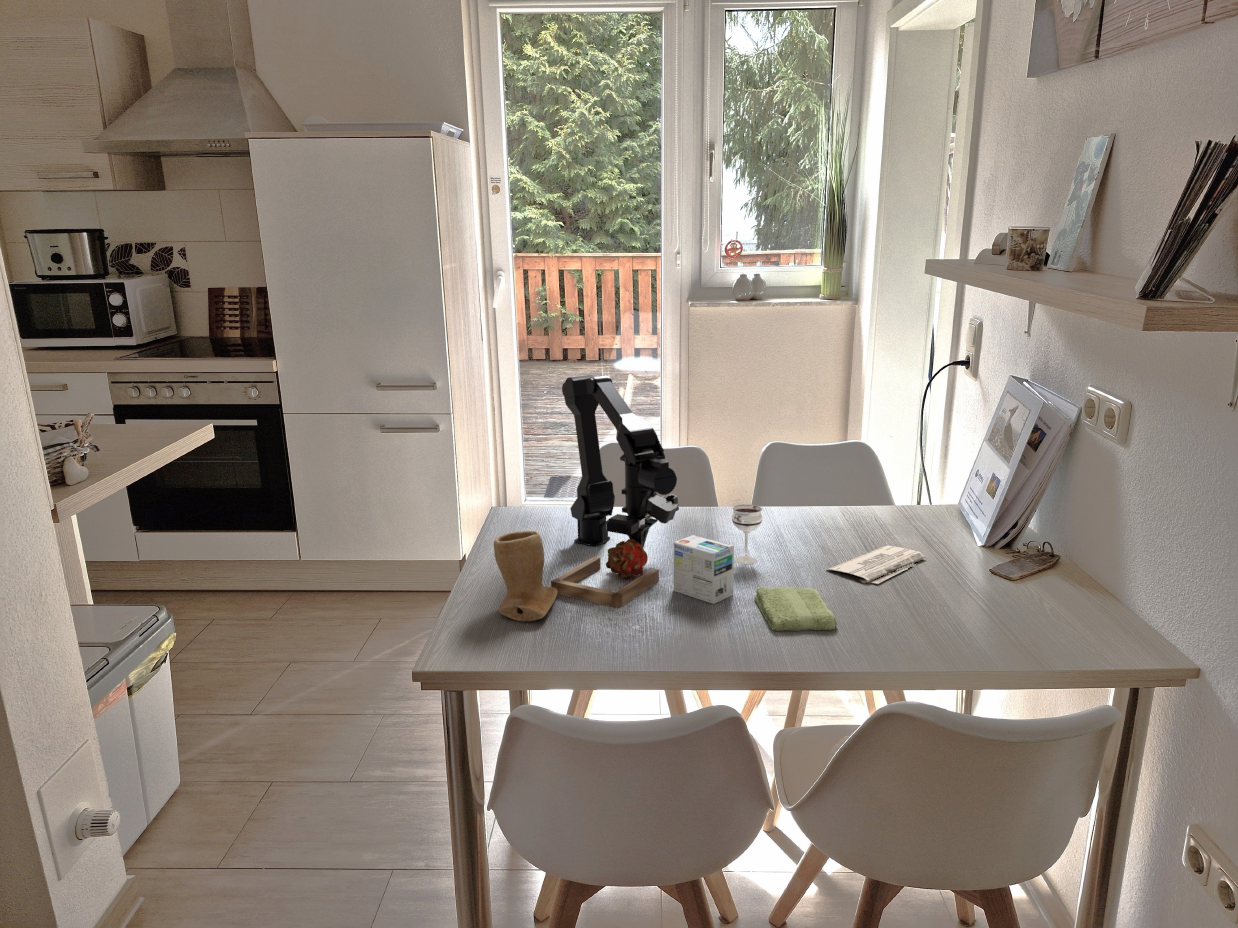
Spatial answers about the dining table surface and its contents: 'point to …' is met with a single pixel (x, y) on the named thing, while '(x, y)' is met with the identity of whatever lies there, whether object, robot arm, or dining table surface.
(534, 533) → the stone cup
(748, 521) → the wineglass
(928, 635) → the dining table surface
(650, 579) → the frame
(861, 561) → the newspaper
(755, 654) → the dining table surface
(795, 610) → the washcloth
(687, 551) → the light bulb box
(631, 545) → the dragon fruit
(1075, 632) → the dining table surface
